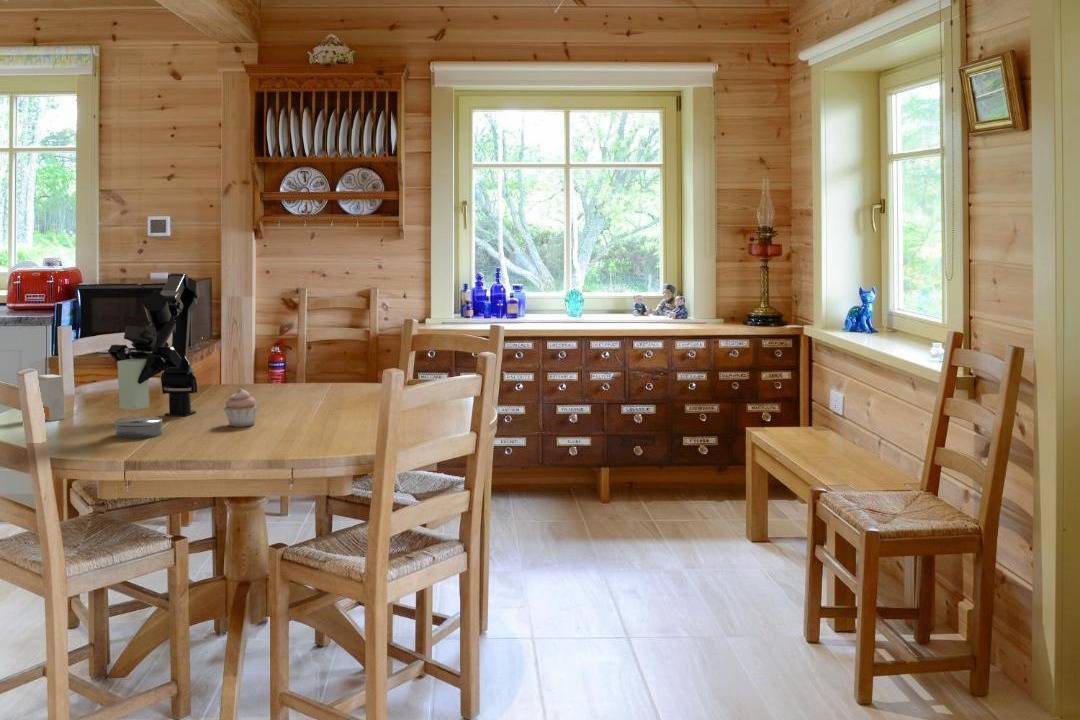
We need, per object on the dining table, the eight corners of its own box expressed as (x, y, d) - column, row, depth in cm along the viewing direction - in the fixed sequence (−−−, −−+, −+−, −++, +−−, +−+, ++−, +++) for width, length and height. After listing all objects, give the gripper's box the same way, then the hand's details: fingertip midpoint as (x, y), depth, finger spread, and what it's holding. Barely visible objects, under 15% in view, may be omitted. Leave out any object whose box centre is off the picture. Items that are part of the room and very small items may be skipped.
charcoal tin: (130, 430, 261) (130, 415, 261) (171, 432, 260) (170, 417, 259) (105, 439, 250) (105, 423, 250) (147, 440, 249) (147, 424, 248)
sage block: (133, 405, 257) (131, 358, 256) (149, 406, 256) (147, 359, 255) (119, 408, 253) (117, 361, 251) (136, 409, 251) (134, 361, 250)
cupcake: (221, 423, 272) (220, 386, 271) (256, 421, 276) (256, 384, 275) (225, 429, 264) (224, 391, 263) (262, 427, 267) (261, 389, 266)
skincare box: (39, 418, 276) (37, 375, 275) (54, 416, 280) (52, 373, 278) (50, 421, 273) (48, 377, 271) (65, 419, 276) (63, 375, 275)
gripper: (111, 313, 258) (81, 360, 249) (172, 315, 253) (144, 364, 243) (133, 340, 267) (105, 387, 257) (193, 343, 261) (167, 391, 252)
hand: (129, 382), depth 252 cm, fingers closed on sage block, 5 cm apart
